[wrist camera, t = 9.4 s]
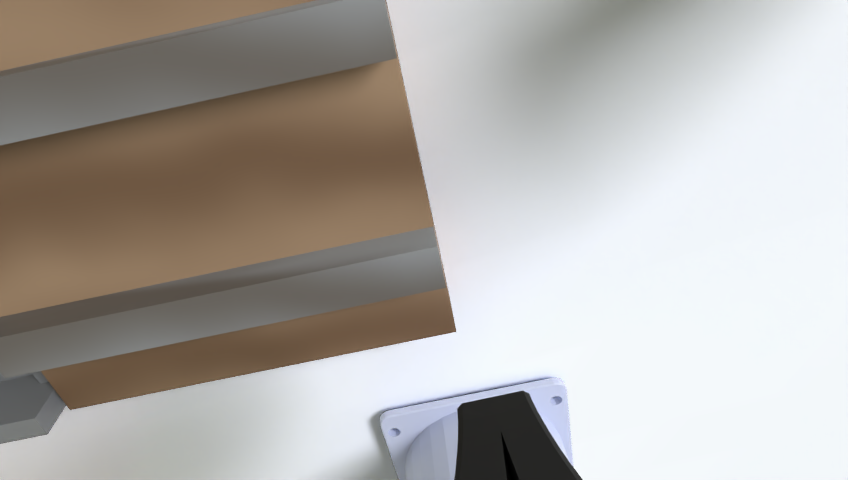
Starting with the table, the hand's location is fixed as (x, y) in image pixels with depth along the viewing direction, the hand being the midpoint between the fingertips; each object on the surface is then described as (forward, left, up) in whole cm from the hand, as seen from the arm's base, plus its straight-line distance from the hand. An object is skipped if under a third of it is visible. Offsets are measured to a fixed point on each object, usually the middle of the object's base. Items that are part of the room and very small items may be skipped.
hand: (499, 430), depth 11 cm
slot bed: (+3, +8, -9) cm, 12 cm away
